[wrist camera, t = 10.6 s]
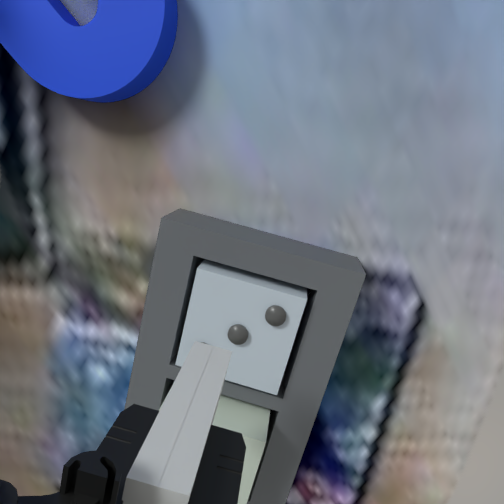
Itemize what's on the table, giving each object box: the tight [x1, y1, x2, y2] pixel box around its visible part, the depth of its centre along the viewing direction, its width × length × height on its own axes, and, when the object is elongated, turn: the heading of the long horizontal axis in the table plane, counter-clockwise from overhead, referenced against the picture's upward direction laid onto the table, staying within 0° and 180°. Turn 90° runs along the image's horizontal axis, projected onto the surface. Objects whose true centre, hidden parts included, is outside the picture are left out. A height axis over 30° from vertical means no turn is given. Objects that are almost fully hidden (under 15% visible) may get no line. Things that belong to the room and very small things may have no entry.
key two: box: [159, 394, 270, 504], centre depth 22 cm, size 5×5×4 cm
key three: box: [175, 259, 307, 395], centre depth 21 cm, size 5×5×4 cm
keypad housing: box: [125, 209, 366, 504], centre depth 23 cm, size 10×23×3 cm, turn 166°
